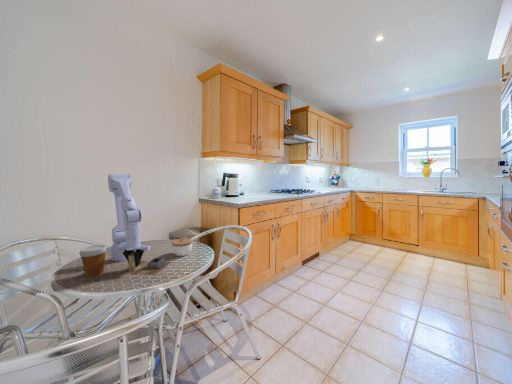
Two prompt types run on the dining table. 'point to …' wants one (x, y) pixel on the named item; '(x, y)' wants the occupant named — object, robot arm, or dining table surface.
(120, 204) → the robot arm
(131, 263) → the tan wooden block
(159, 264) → the grey square socket
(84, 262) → the disposable coffee cup
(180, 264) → the dining table surface
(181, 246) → the lidded jar
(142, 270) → the walnut board
